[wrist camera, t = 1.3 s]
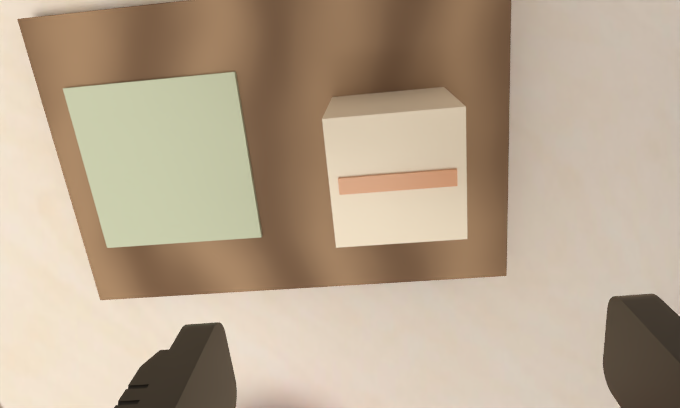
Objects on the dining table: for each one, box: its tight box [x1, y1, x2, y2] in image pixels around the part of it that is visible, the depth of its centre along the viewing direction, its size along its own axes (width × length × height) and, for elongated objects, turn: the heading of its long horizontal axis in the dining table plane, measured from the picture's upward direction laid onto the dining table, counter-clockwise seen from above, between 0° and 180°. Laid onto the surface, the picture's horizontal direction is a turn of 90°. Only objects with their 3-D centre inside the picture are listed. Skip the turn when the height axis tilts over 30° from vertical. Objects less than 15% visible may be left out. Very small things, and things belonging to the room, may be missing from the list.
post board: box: [18, 0, 511, 300], centre depth 25 cm, size 24×16×6 cm, turn 96°
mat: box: [63, 71, 262, 248], centre depth 27 cm, size 9×9×1 cm
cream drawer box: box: [322, 87, 467, 248], centre depth 23 cm, size 6×6×6 cm
